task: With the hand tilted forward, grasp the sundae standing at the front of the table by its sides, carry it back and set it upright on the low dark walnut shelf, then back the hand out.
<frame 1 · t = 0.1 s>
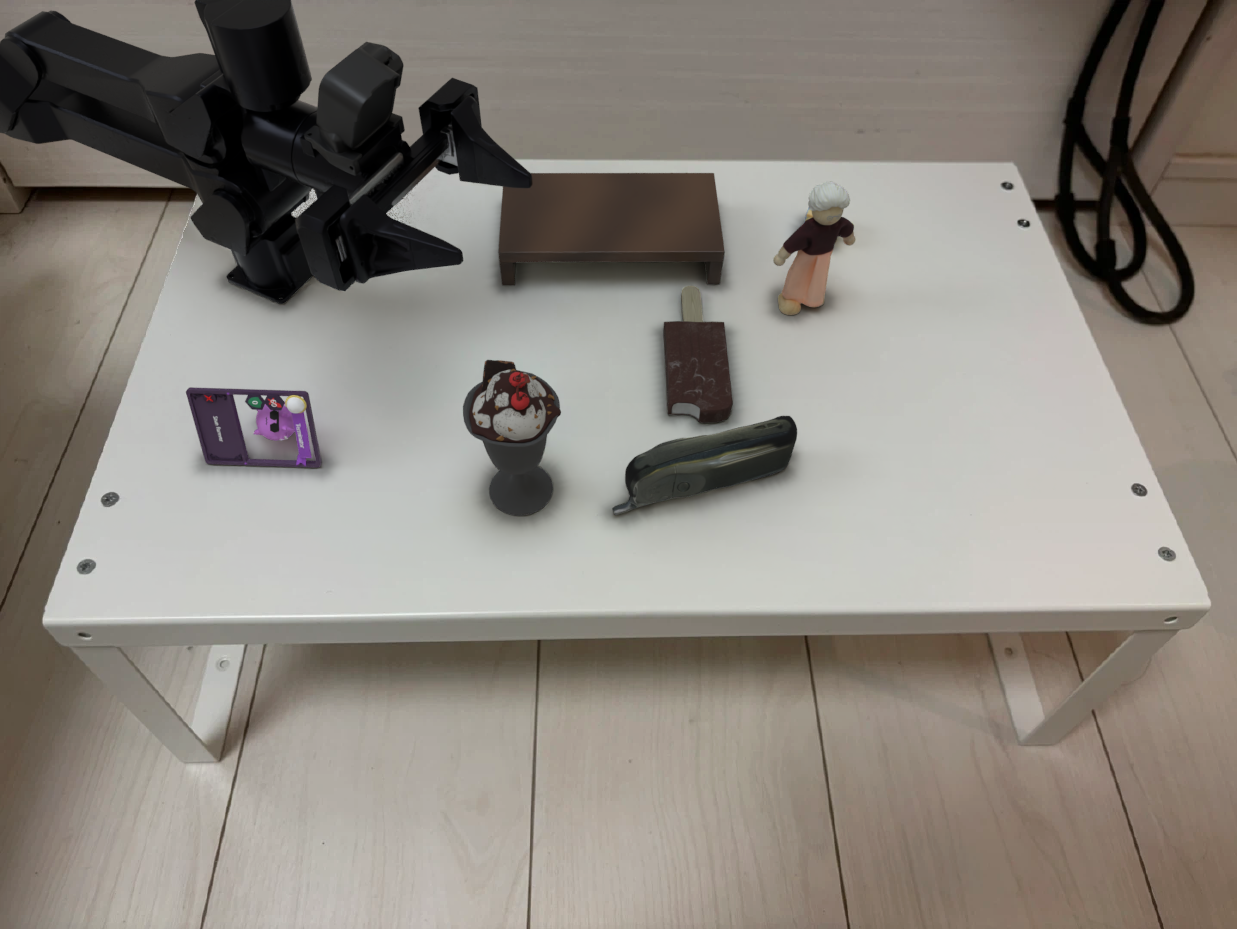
hand: (497, 218, 65), 17 cm above the table, tool horizontal, fingers open, 9 cm apart
ice cream bar: (694, 357, 80), on the table
game card: (271, 444, 74), on the table
swiss army knife: (700, 483, 73), on the table
sundae: (522, 490, 72), on the table
grandmother figurine: (804, 301, 85), on the table
shelf: (610, 244, 88), on the table
alphabet block: (818, 235, 90), on the table
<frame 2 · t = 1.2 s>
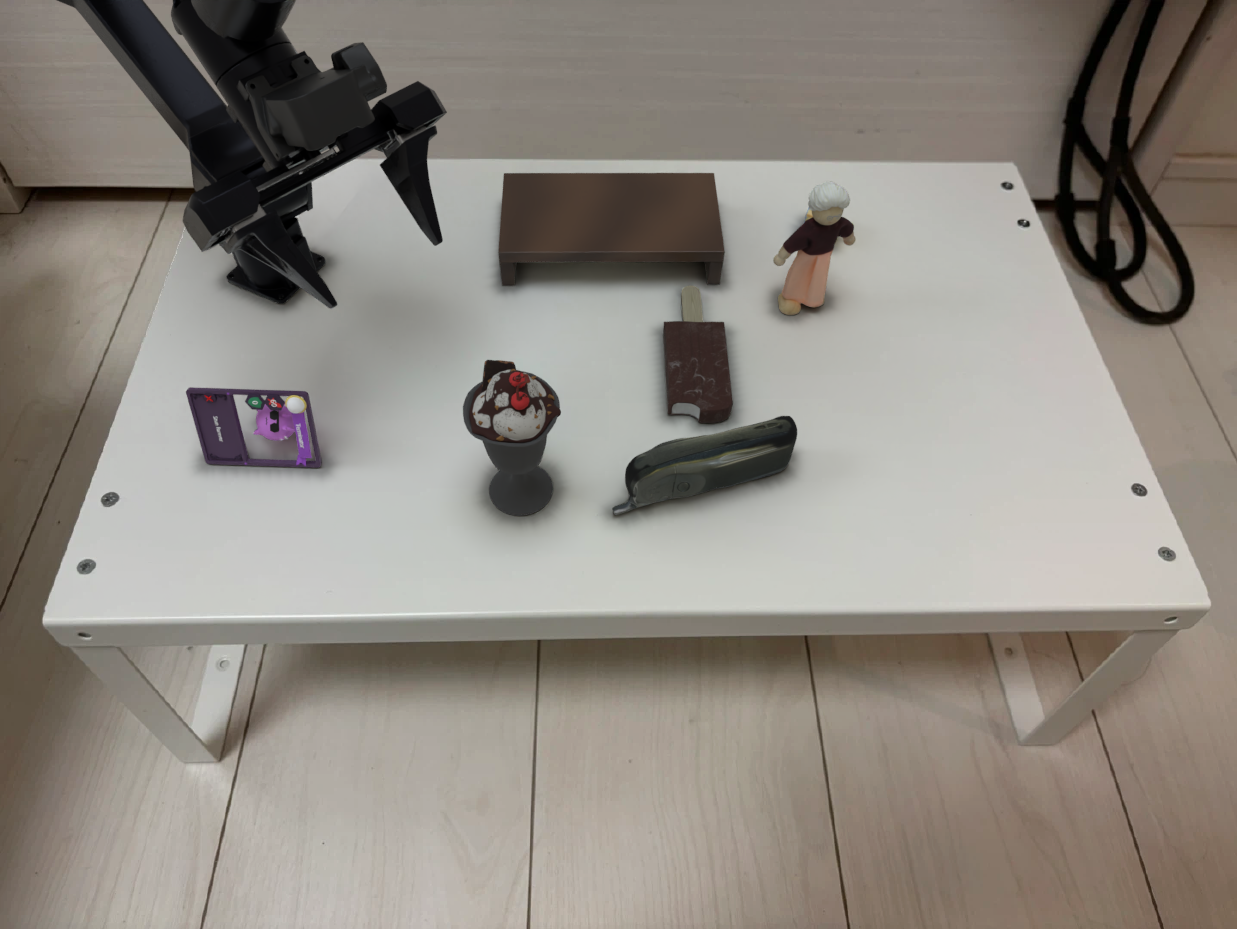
hand: (388, 274, 66), 14 cm above the table, tool tilted 45°, fingers open, 9 cm apart
nothing on the table moved.
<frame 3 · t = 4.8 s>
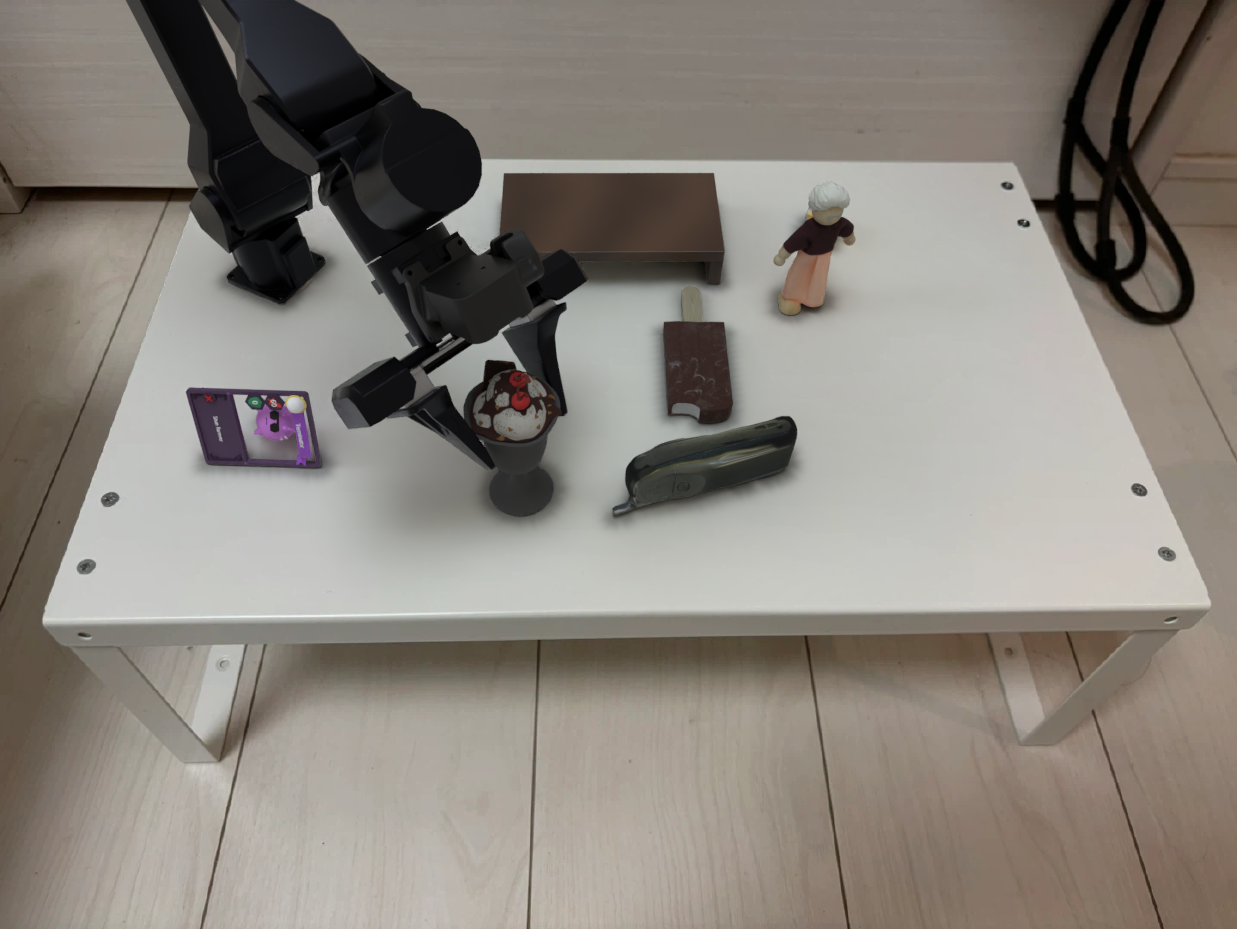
hand: (527, 441, 65), 8 cm above the table, tool tilted 45°, fingers closed on sundae, 6 cm apart
sundae: (522, 491, 72), on the table, touching gripper
everything else where it was.
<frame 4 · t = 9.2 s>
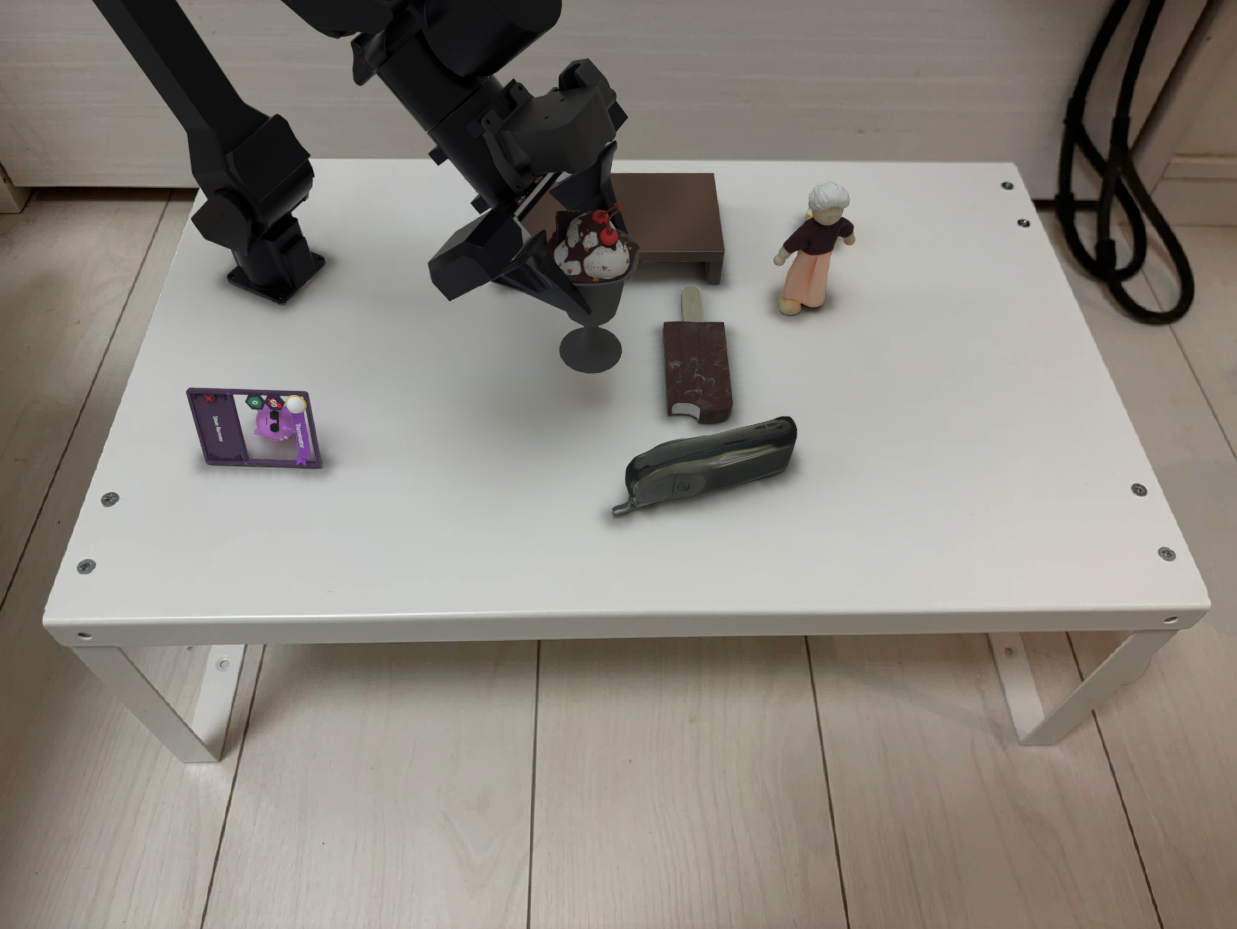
hand: (609, 285, 66), 13 cm above the table, tool tilted 45°, fingers closed on sundae, 6 cm apart
sundae: (591, 352, 73), point 5 cm above the table, touching gripper
everything else where it was.
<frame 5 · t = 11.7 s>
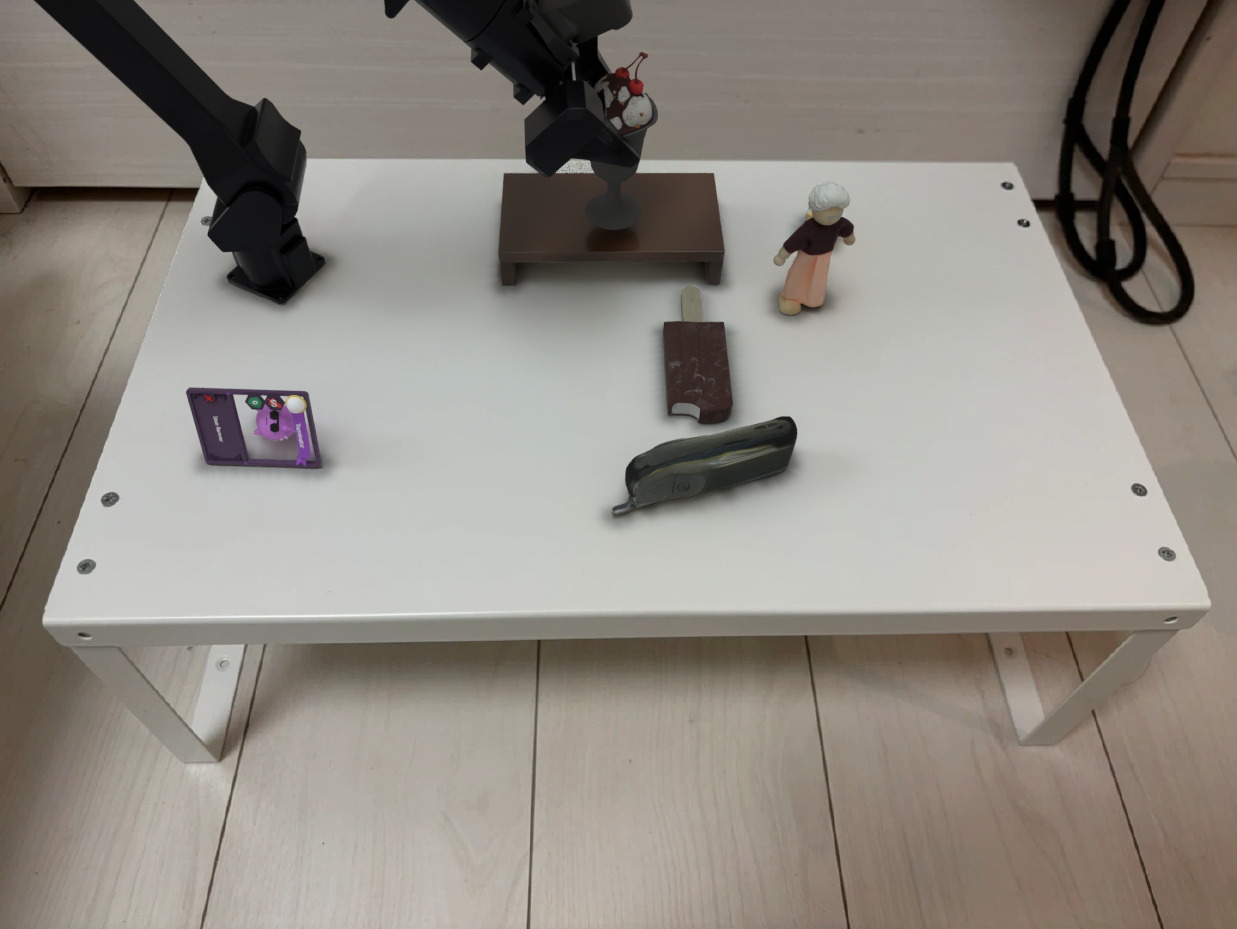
hand: (632, 137, 76), 13 cm above the table, tool tilted 45°, fingers closed on sundae, 6 cm apart
sundae: (613, 213, 82), point 5 cm above the table, touching gripper
everything else where it was.
when the fingers open (12 cm above the table, at t = 13.7 s): sundae stays where it is, resting on shelf.
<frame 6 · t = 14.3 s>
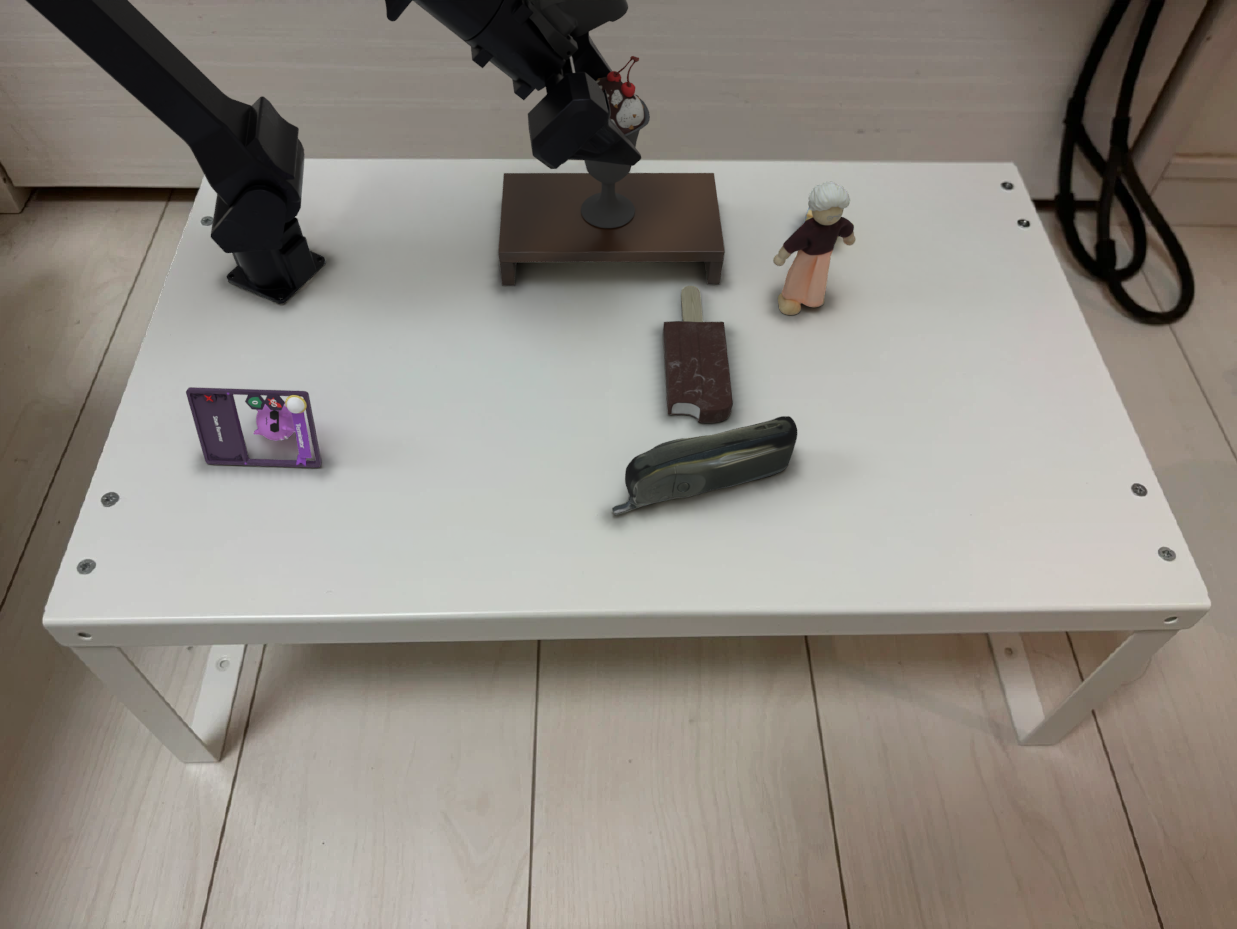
hand: (628, 126, 78), 13 cm above the table, tool tilted 45°, fingers open, 9 cm apart
sundae: (608, 212, 85), point 4 cm above the table, touching shelf
everything else where it was.
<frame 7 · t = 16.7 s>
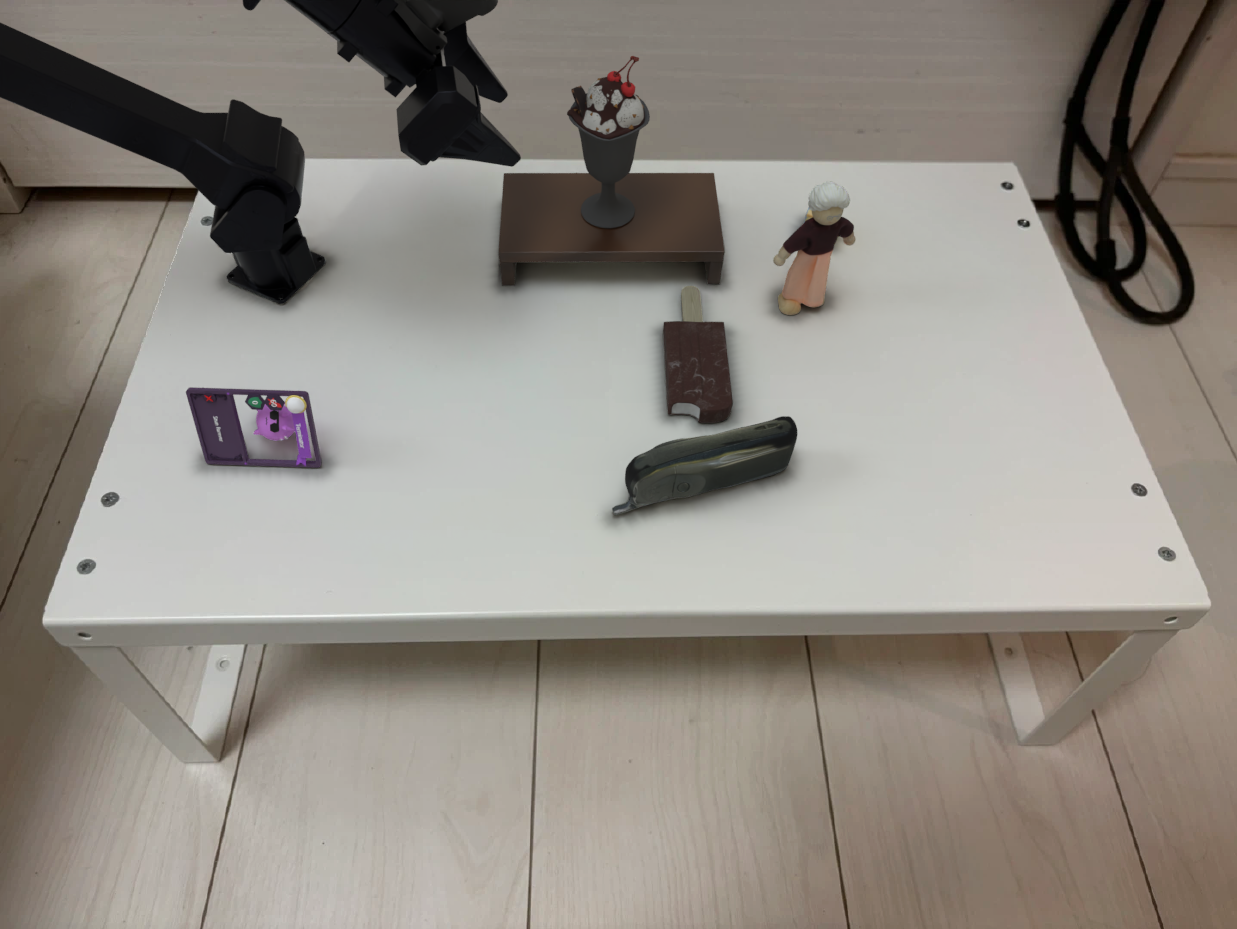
hand: (510, 128, 76), 13 cm above the table, tool tilted 45°, fingers open, 9 cm apart
nothing on the table moved.
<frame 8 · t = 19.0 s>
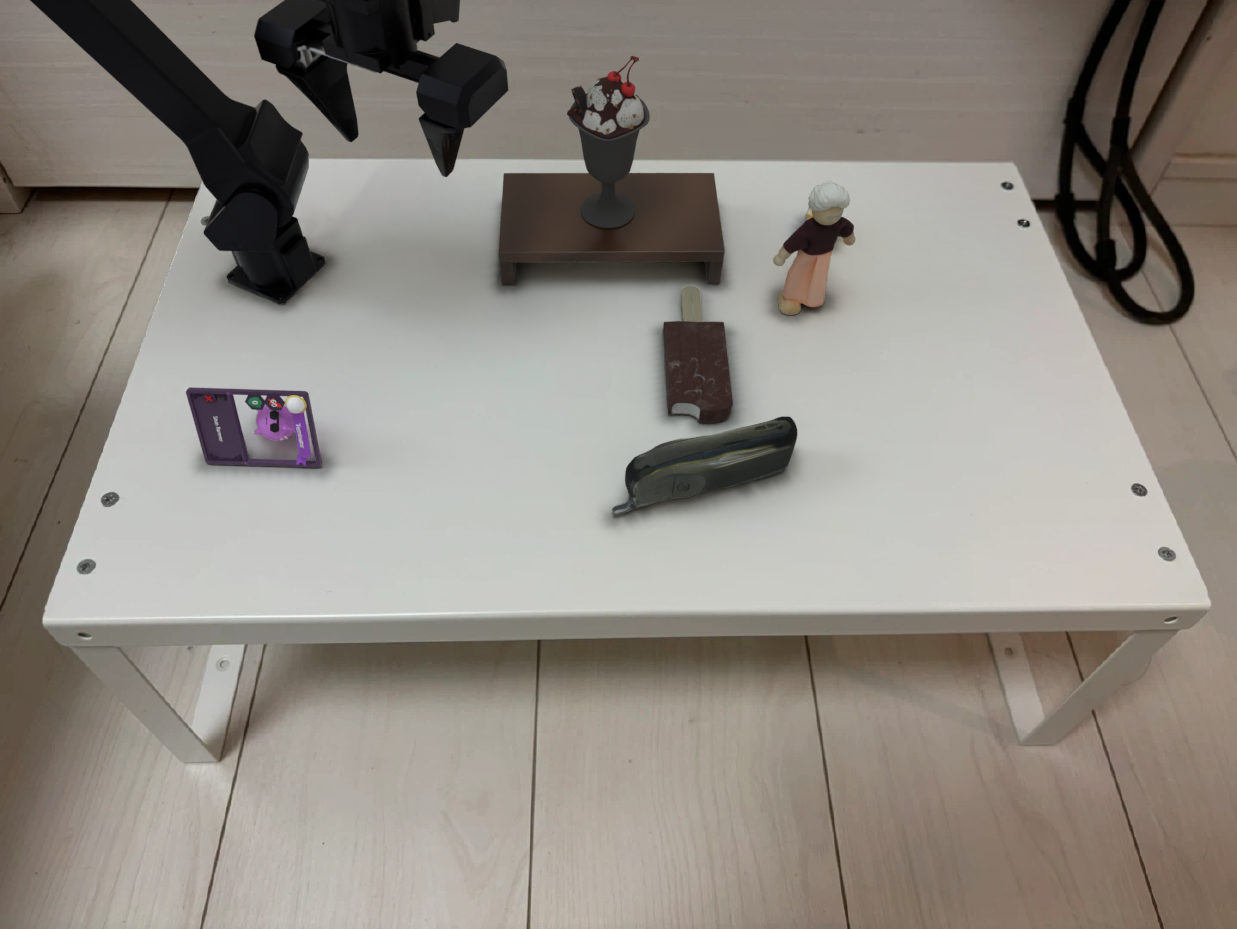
hand: (399, 156, 75), 13 cm above the table, tool pointing down, fingers open, 9 cm apart
nothing on the table moved.
at the end: sundae inside the target area on the shelf (0.2 cm from its centre), point 3.8 cm above the shelf's base; sundae tilted 0°; the gripper is holding nothing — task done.
